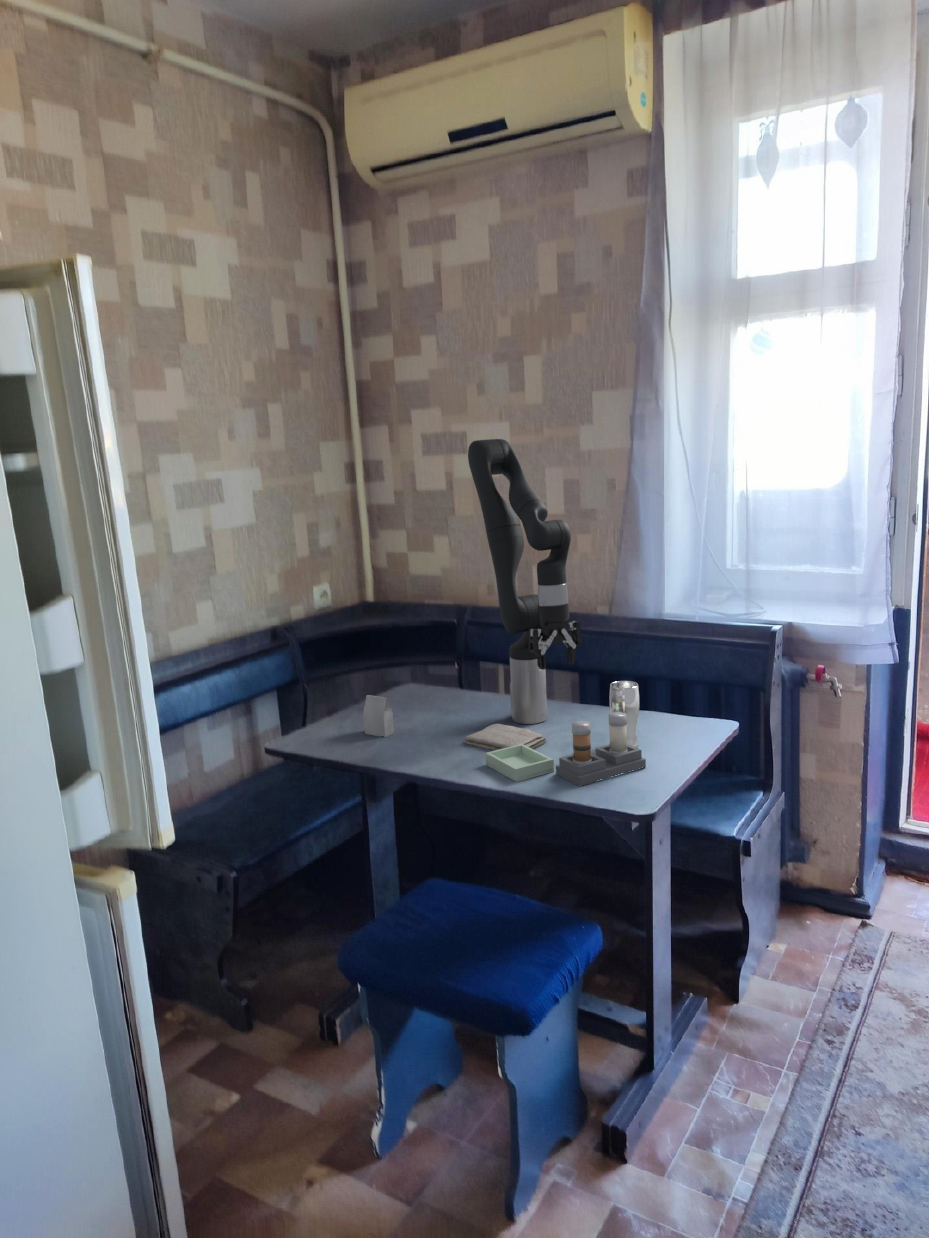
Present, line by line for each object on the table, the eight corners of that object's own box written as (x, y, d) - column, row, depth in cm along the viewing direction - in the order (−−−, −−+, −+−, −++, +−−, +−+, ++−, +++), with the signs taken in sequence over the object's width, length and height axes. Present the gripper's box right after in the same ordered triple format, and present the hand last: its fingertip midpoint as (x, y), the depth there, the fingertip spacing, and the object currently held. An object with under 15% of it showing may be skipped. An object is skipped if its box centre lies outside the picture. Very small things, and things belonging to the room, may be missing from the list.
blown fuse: (569, 766, 200) (568, 723, 198) (584, 762, 201) (583, 719, 199) (580, 771, 196) (579, 727, 194) (595, 767, 198) (594, 724, 196)
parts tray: (486, 764, 209) (485, 752, 209) (522, 755, 214) (522, 743, 213) (516, 781, 198) (515, 769, 197) (554, 771, 203) (553, 759, 202)
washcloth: (520, 758, 213) (520, 746, 213) (462, 745, 225) (461, 733, 224) (549, 744, 222) (549, 732, 221) (492, 732, 233) (491, 720, 233)
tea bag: (385, 737, 233) (382, 699, 231) (365, 733, 237) (361, 696, 235) (394, 732, 236) (391, 696, 234) (374, 729, 240) (371, 693, 238)
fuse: (605, 756, 204) (604, 714, 202) (619, 753, 206) (619, 711, 204) (617, 761, 201) (616, 718, 199) (631, 757, 203) (630, 715, 201)
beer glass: (618, 751, 213) (616, 690, 210) (605, 742, 220) (604, 682, 217) (645, 747, 215) (644, 686, 212) (632, 738, 221) (631, 679, 218)
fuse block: (556, 773, 201) (555, 756, 200) (620, 756, 210) (619, 739, 209) (580, 786, 193) (579, 768, 193) (645, 767, 202) (645, 750, 201)
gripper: (567, 596, 230) (571, 659, 232) (520, 604, 223) (524, 668, 226) (585, 599, 223) (588, 663, 226) (537, 607, 216) (541, 673, 219)
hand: (556, 666), depth 226 cm, fingers open, 8 cm apart
